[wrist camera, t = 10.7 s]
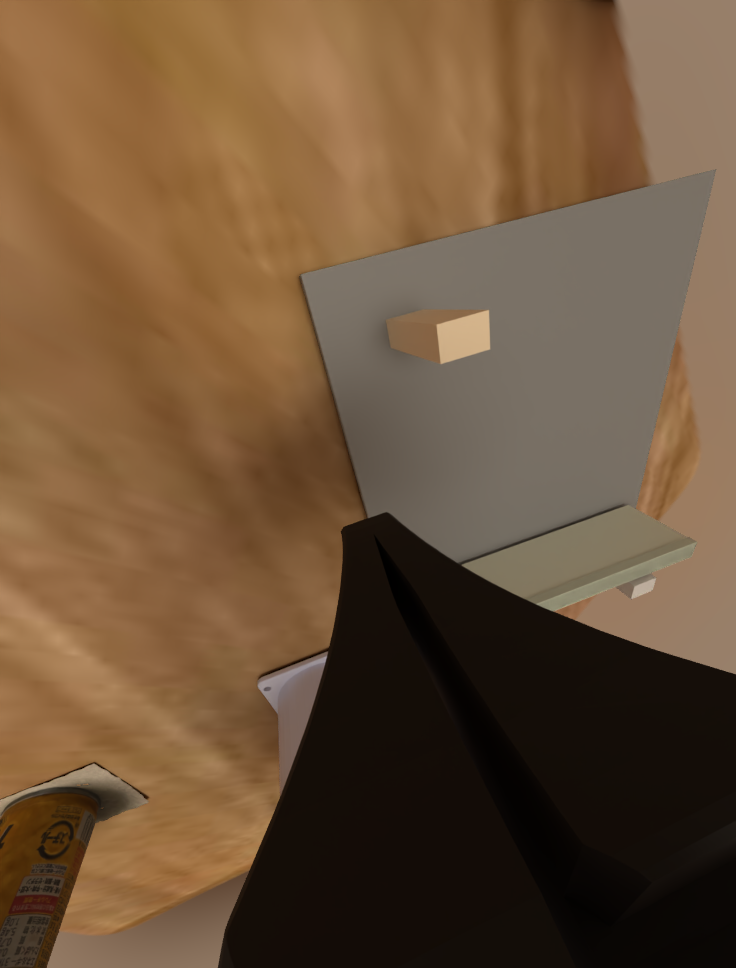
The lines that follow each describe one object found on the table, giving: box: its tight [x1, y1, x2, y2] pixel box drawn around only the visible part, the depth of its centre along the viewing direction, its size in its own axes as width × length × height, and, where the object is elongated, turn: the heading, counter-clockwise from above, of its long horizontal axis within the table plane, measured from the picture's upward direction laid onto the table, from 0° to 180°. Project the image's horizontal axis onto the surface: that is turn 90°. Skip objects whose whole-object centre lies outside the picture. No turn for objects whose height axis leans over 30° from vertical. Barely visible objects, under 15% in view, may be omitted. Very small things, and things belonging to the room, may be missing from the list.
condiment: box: [0, 764, 149, 968], centre depth 20 cm, size 7×8×12 cm
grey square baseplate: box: [299, 170, 716, 599], centre depth 18 cm, size 22×20×6 cm
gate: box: [462, 505, 697, 611], centre depth 22 cm, size 15×1×5 cm, turn 101°
